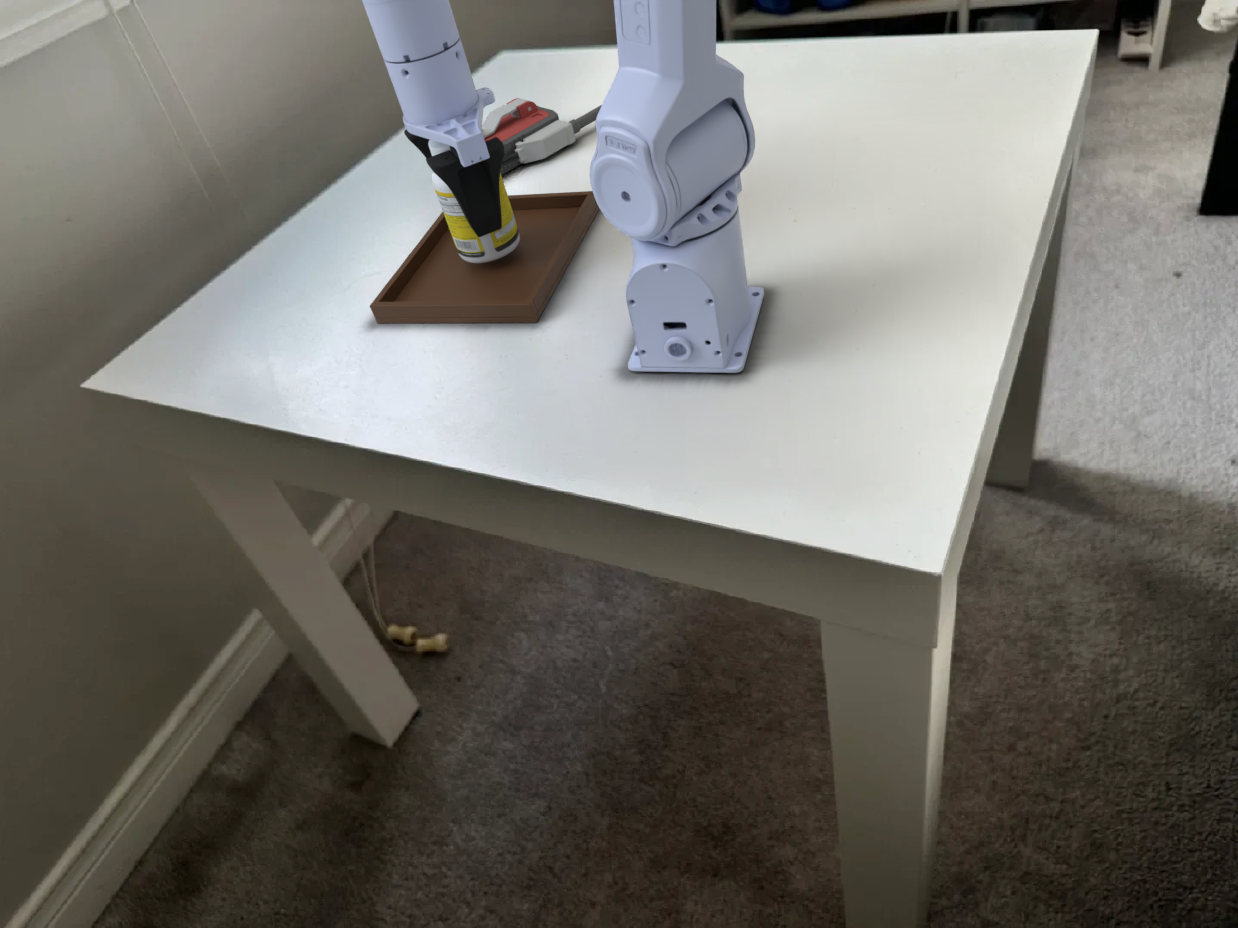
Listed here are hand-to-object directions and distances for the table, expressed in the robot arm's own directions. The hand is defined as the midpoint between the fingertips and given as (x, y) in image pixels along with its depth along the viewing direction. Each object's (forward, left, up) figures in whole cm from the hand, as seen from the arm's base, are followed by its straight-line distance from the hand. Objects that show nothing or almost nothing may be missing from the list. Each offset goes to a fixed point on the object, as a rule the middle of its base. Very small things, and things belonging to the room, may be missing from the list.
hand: (478, 217), depth 74 cm
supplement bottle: (0, 0, -3) cm, 3 cm away
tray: (0, 0, -4) cm, 4 cm away
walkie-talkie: (+22, +4, -4) cm, 23 cm away
